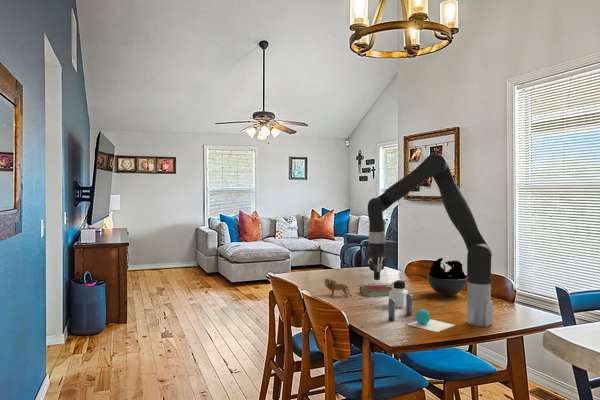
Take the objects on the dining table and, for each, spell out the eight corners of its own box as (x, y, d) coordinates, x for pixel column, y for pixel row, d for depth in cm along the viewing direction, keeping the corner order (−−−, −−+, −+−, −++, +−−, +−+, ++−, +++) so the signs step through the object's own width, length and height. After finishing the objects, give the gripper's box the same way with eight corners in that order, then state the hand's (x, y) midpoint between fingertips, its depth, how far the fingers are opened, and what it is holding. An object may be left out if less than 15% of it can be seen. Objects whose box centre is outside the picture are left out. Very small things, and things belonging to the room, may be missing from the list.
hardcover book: (359, 293, 253) (359, 285, 253) (394, 290, 260) (394, 283, 259) (369, 298, 242) (369, 290, 242) (405, 295, 248) (405, 287, 248)
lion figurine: (323, 295, 244) (323, 278, 244) (325, 293, 249) (325, 276, 249) (351, 297, 240) (351, 280, 240) (352, 295, 245) (353, 278, 245)
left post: (395, 320, 199) (396, 299, 199) (392, 321, 197) (392, 300, 197) (390, 319, 201) (391, 298, 200) (387, 320, 199) (387, 299, 199)
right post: (413, 314, 208) (413, 294, 207) (409, 316, 206) (410, 295, 206) (408, 313, 210) (408, 293, 209) (404, 314, 208) (405, 294, 208)
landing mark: (455, 325, 192) (455, 325, 192) (437, 332, 182) (437, 331, 182) (425, 318, 202) (425, 318, 202) (406, 324, 193) (406, 324, 193)
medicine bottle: (407, 305, 226) (408, 280, 225) (403, 308, 219) (403, 282, 219) (393, 303, 229) (394, 278, 229) (388, 306, 223) (389, 281, 223)
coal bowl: (469, 300, 236) (470, 263, 235) (428, 298, 240) (429, 261, 239) (463, 292, 255) (464, 257, 255) (426, 290, 259) (426, 256, 259)
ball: (419, 309, 199) (424, 323, 197) (410, 312, 195) (415, 326, 193) (430, 306, 194) (435, 320, 193) (421, 309, 191) (426, 324, 189)
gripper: (374, 243, 205) (374, 282, 205) (392, 241, 214) (392, 279, 214) (361, 242, 210) (361, 280, 211) (379, 240, 219) (379, 276, 220)
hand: (377, 279), depth 212 cm, fingers closed
